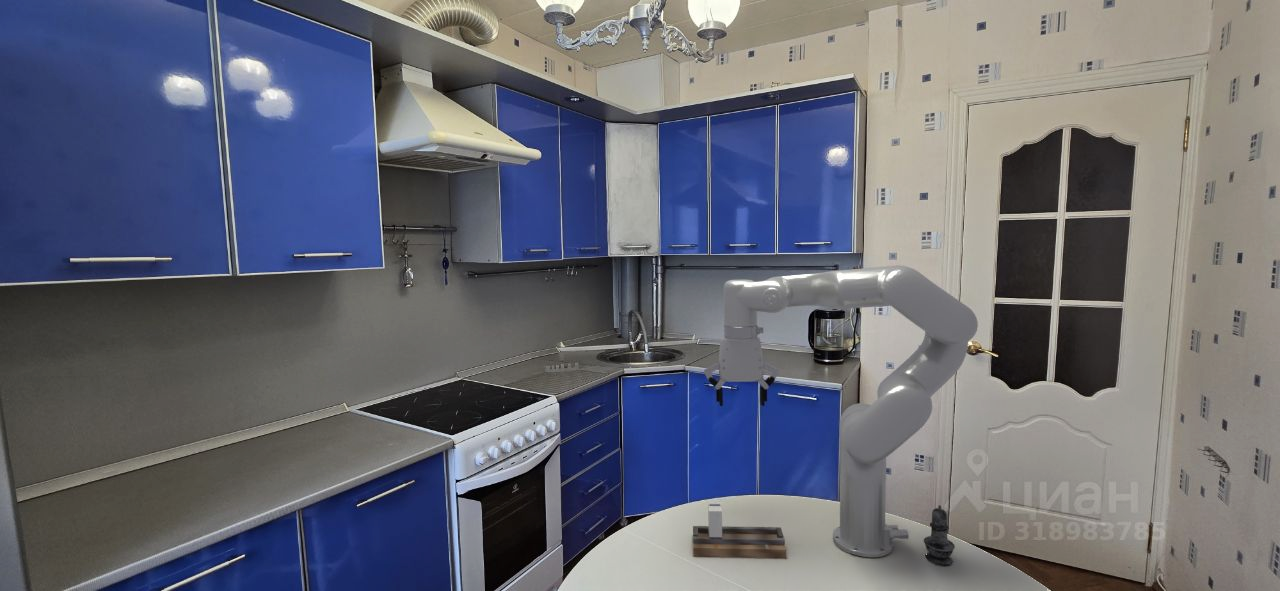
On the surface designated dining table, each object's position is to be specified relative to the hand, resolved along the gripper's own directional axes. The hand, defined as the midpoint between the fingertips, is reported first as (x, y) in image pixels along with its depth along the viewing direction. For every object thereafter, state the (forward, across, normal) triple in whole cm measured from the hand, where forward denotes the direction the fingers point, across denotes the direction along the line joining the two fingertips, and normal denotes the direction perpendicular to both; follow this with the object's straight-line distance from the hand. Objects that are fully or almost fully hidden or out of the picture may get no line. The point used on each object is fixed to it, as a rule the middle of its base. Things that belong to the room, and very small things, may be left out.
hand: (741, 404), depth 131 cm
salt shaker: (+31, -40, +12) cm, 52 cm away
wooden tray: (+30, +2, +8) cm, 32 cm away
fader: (+28, +7, +8) cm, 30 cm away
